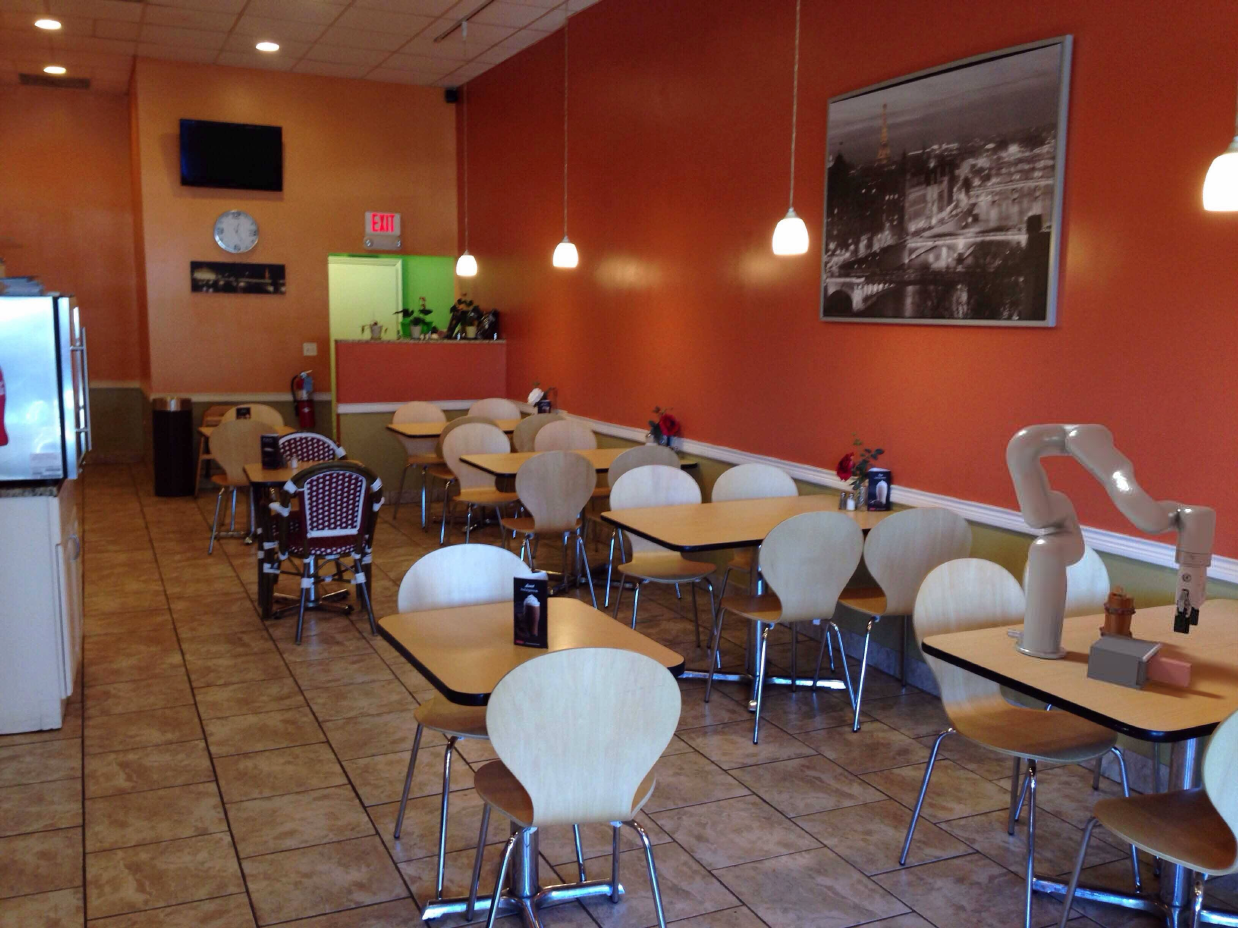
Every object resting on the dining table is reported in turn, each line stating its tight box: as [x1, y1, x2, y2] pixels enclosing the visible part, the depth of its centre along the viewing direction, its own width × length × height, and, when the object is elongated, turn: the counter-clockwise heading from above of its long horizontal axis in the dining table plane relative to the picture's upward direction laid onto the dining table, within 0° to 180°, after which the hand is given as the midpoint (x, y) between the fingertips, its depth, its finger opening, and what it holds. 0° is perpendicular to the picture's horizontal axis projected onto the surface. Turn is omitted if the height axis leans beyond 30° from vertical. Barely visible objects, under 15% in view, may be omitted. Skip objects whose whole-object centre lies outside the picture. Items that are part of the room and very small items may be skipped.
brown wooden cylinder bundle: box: [1098, 585, 1137, 638], centre depth 283 cm, size 15×8×15 cm, turn 160°
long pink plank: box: [1147, 655, 1192, 688], centre depth 253 cm, size 18×3×5 cm, turn 50°
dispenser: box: [1086, 632, 1164, 691], centre depth 257 cm, size 13×16×8 cm
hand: (1185, 628), depth 247 cm, fingers open, 9 cm apart
